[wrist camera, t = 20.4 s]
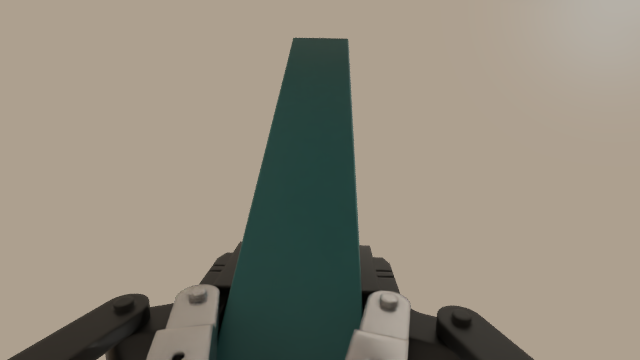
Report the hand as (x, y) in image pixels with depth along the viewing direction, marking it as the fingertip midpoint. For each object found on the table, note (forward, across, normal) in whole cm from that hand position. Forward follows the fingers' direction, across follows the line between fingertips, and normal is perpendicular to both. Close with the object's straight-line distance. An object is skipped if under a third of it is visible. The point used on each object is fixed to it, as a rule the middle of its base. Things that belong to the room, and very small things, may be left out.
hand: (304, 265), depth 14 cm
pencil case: (+4, 0, -6) cm, 7 cm away
